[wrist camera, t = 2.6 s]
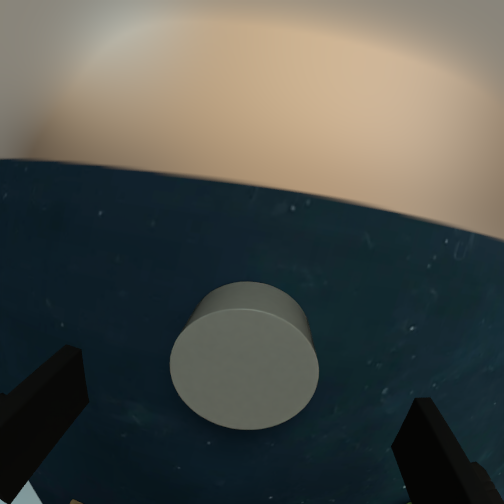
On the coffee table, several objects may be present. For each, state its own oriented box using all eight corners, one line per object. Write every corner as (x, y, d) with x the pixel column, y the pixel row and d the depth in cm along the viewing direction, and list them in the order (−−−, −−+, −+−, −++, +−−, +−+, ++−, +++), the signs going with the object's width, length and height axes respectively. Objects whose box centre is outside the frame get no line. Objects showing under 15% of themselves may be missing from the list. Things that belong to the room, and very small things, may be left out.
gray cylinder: (185, 378, 17) (169, 417, 14) (192, 272, 16) (171, 296, 12) (297, 395, 17) (301, 436, 14) (321, 290, 16) (334, 319, 12)
